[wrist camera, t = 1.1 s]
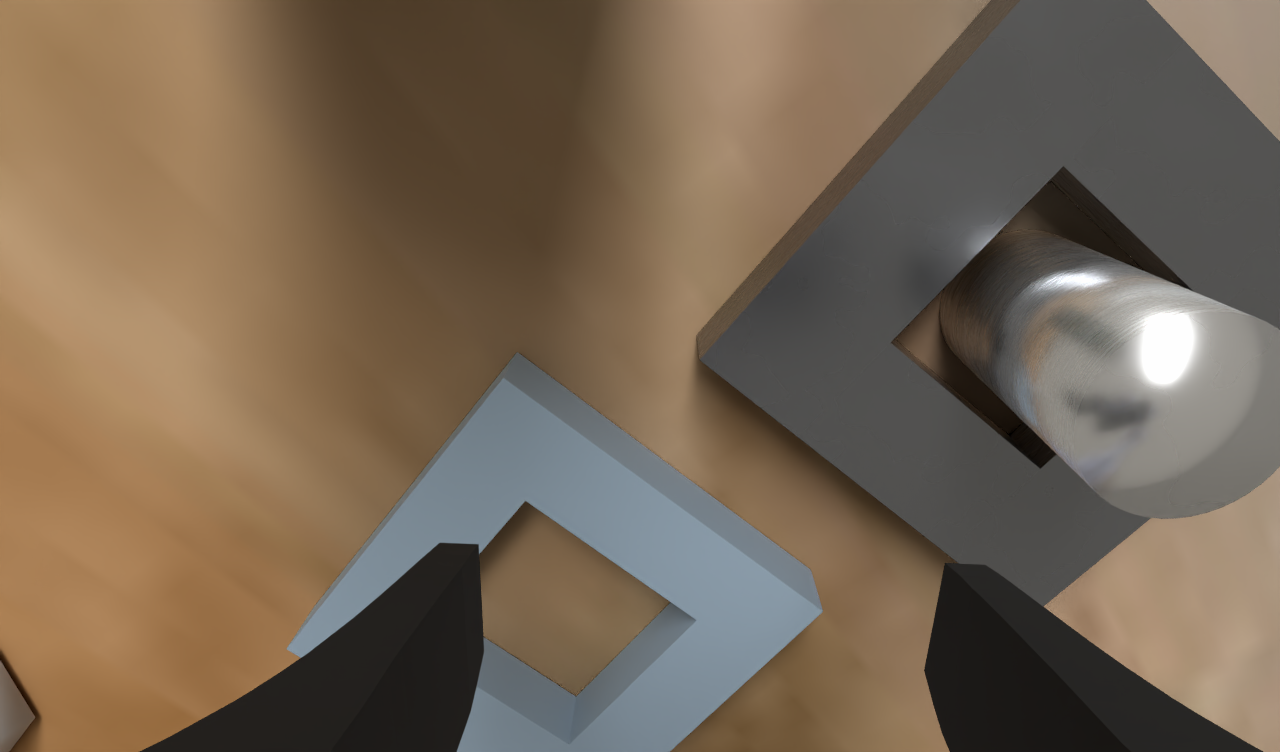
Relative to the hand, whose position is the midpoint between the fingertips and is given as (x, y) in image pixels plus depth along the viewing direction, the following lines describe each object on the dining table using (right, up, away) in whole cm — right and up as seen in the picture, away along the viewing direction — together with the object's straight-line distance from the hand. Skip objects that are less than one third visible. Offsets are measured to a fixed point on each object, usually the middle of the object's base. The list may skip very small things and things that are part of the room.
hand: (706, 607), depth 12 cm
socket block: (+9, +5, +9) cm, 14 cm away
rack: (-4, -3, +12) cm, 13 cm away
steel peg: (+9, +5, +9) cm, 14 cm away
